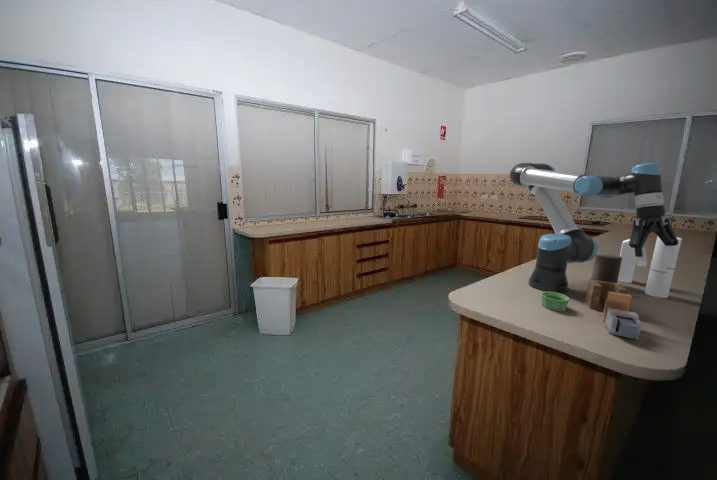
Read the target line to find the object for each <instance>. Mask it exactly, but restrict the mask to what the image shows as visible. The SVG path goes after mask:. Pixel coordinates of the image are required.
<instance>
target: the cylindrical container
mask: <svg viewBox="0 0 717 480" xmlns="http://www.w3.org/2000/svg"><path fill="white" fill-rule="evenodd" d="M656 236H657V237H656V241H655V245H654V250H653V253H652V259H651V264H650V268H649V272H648V277H647V280H646V281H647V282H646V285H645V289H644V294H646V295H648V296H651V297H655V298H663V299H667V298H668V297H669V293H670V290H671V284H672V282H673V281H672V280H673V276H674V272H675V270H676V269H675V268H676V266H677V260H678V256H679V252H680V249H681V244H682V240H683V238H681V237H678V236H676V238H677V240H678V245H674V255H675V263H676V264H665V259H664V250H663V246H665V244H664V243H663V242H662V241H661V239H660V238H659V237H658V235H656Z"/></svg>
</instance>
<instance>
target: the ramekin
mask: <svg viewBox="0 0 717 480" xmlns="http://www.w3.org/2000/svg"><path fill="white" fill-rule="evenodd" d="M540 295H541V303H540V304H541V307H544V308H545V309H548V310H552V311H557V312H563V311H566V310H567V307H568V304H569V302H570V298H569V296H567V295H565V294H562V293H561V292H549V291H543V292H541V294H540Z"/></svg>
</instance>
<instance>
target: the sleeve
mask: <svg viewBox="0 0 717 480" xmlns="http://www.w3.org/2000/svg"><path fill="white" fill-rule="evenodd" d="M615 315H616V316H622V317H628V318H630V319H631V320H632V321H633V322H634V323H635V325H636V326H637V327H638V329H637V334H636V338H632V339H634V340H639V339H640V333H641V331H642V325H643V323H642V322H641V321H640V315H639V314H638V313H637V312H634V311H630V310H629V311H623V310H617V309H611V308H608V311H607V316H606V321H604V327H605V329H606V331H607V332H608V334H609V335H614V336H619V337H621V336H620V335H619V333H618V332H617V330H616V326H617V321H618V318H617V317H616V316H615ZM622 337H623V338H626V337H625V336H622ZM627 338H629V339H631V338H630V337H627Z"/></svg>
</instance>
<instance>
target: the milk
mask: <svg viewBox="0 0 717 480" xmlns="http://www.w3.org/2000/svg"><path fill="white" fill-rule="evenodd" d="M629 241H630V238H628V239H625V240H623V241H622V243H621V248H620V253H619V256H621V257H622V262H621V266H620V271H619V276H618V281H617V282H620V283H627V284H632V282H633V278H634V272H635V269H636V265H637V262H636V256H635V248H631V246H629ZM633 243H634V242H633Z"/></svg>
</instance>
